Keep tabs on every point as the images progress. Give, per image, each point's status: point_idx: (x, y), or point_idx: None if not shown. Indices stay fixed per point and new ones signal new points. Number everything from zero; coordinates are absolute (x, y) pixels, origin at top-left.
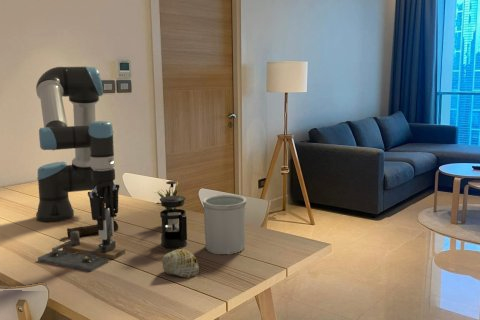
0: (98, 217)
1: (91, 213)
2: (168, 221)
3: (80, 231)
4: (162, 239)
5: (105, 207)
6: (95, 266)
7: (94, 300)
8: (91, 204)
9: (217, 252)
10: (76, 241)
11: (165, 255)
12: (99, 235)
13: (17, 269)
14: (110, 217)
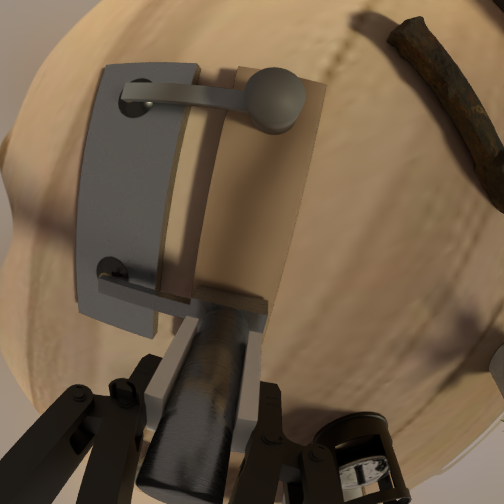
0: (79, 432)
1: (43, 414)
2: (498, 371)
3: (430, 74)
4: (332, 442)
5: (209, 498)
6: (97, 317)
7: (21, 356)
8: (3, 469)
9: (284, 494)
10: (256, 124)
11: (134, 482)
12: (179, 329)
13: (56, 72)
14: (235, 443)
